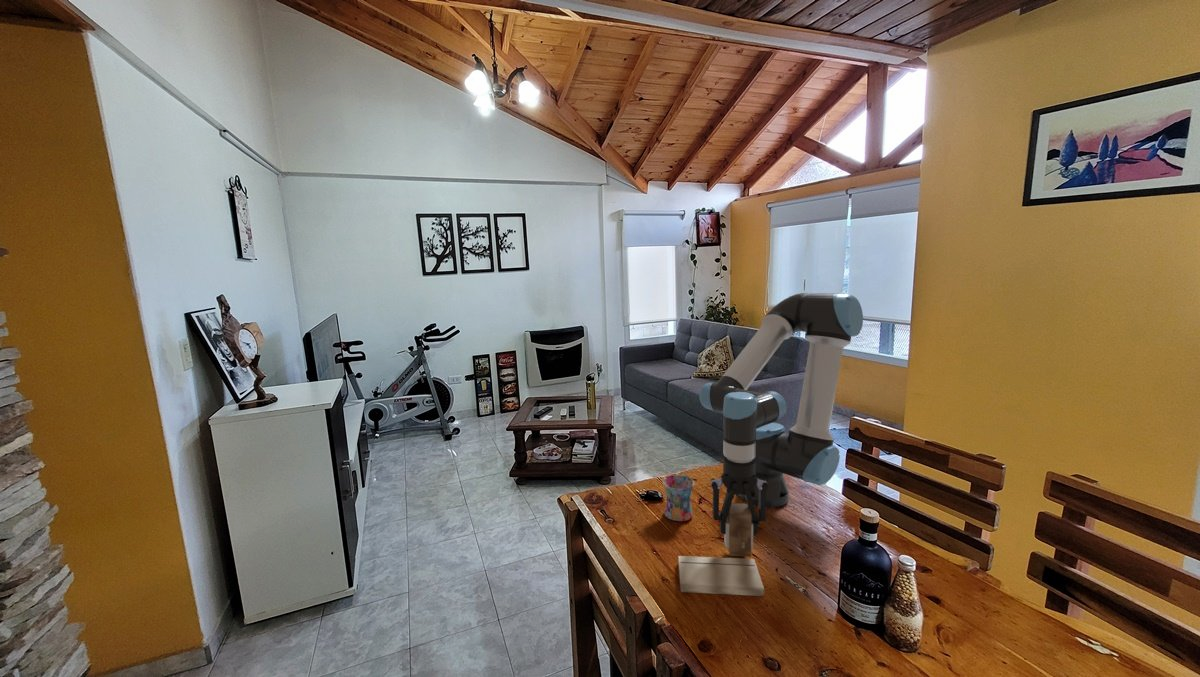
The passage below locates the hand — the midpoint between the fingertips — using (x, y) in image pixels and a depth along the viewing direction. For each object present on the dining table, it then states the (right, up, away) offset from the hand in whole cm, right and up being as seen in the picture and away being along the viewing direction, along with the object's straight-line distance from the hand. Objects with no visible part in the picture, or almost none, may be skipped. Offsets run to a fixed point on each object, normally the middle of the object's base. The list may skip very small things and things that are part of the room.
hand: (738, 545), depth 112 cm
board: (-7, -5, -7) cm, 11 cm away
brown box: (0, -2, -2) cm, 2 cm away
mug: (-10, -1, +21) cm, 24 cm away
